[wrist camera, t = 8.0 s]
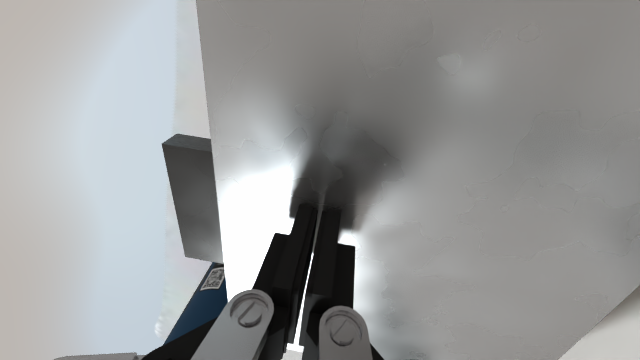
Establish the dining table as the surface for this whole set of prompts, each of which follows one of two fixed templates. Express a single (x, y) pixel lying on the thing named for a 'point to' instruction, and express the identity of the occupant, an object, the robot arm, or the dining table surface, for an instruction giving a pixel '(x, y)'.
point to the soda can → (203, 302)
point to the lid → (427, 161)
